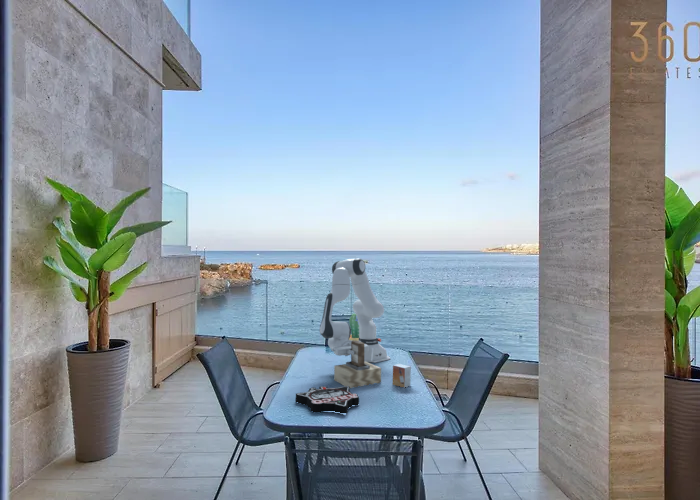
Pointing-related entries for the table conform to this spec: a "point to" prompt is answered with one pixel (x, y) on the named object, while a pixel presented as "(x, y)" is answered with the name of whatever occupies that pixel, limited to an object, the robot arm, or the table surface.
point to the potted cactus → (354, 327)
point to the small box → (401, 375)
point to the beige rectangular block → (357, 374)
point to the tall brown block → (357, 353)
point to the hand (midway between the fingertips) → (358, 352)
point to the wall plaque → (328, 399)
